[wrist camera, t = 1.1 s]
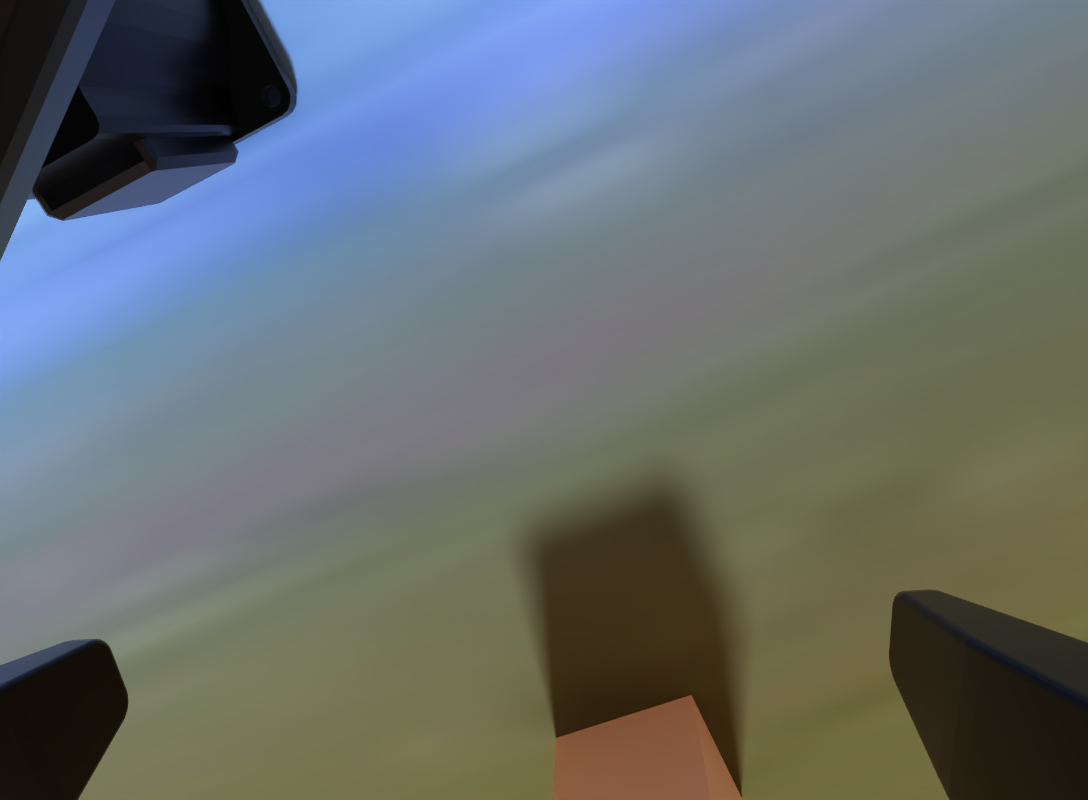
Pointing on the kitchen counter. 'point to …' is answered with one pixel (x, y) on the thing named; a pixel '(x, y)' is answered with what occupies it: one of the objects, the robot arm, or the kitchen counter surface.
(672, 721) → the terracotta block
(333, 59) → the kitchen counter surface
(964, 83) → the kitchen counter surface
